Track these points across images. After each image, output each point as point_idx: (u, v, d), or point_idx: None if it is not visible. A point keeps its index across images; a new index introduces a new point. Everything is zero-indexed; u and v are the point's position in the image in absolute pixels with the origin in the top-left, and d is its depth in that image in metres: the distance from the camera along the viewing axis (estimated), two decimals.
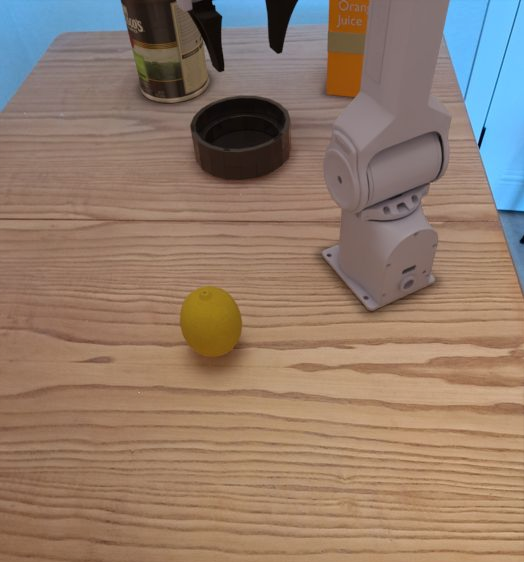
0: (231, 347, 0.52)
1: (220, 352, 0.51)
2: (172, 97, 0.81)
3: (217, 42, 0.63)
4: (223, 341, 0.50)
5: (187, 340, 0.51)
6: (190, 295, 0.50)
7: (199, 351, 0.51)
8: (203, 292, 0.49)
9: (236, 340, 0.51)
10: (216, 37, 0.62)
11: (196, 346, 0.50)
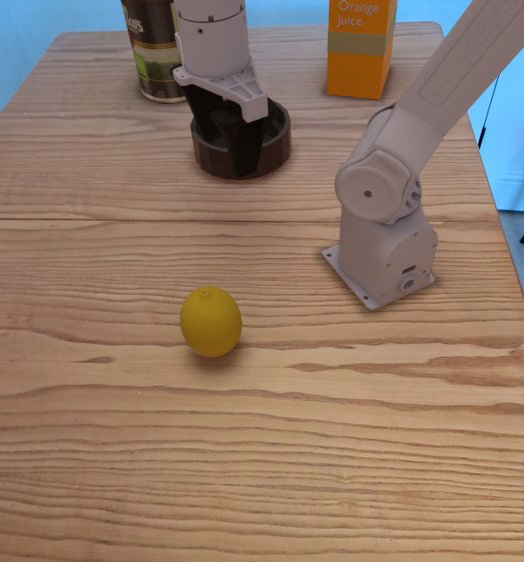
0: (231, 347, 0.52)
1: (220, 352, 0.51)
2: (172, 97, 0.81)
3: None
4: (223, 341, 0.50)
5: (187, 340, 0.51)
6: (190, 295, 0.50)
7: (199, 351, 0.51)
8: (203, 292, 0.49)
9: (236, 340, 0.51)
10: None
11: (196, 346, 0.50)
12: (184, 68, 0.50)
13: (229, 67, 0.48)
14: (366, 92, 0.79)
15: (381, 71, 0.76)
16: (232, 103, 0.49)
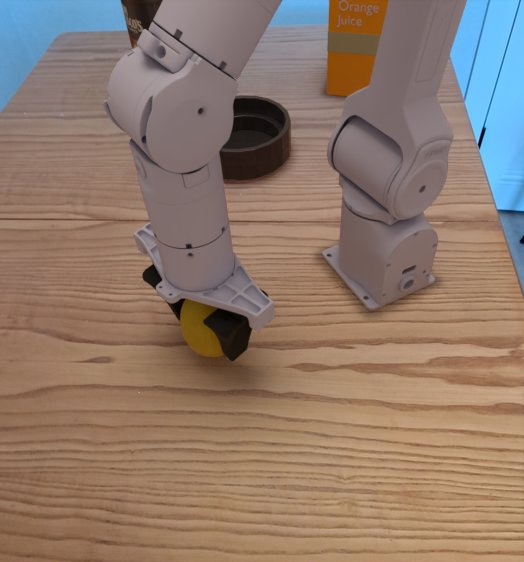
0: None
1: (220, 352, 0.51)
2: None
3: None
4: None
5: (187, 340, 0.51)
6: None
7: (199, 351, 0.51)
8: None
9: None
10: None
11: (197, 346, 0.50)
12: (167, 282, 0.45)
13: (221, 276, 0.44)
14: None
15: None
16: None
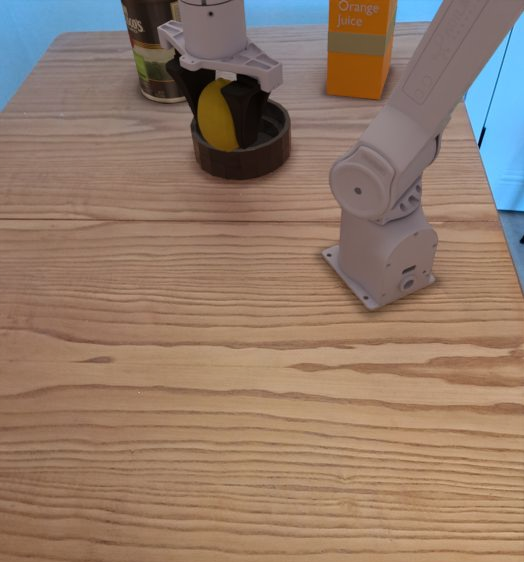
0: None
1: (233, 141, 0.58)
2: (172, 97, 0.81)
3: None
4: None
5: (204, 129, 0.58)
6: (207, 85, 0.56)
7: (214, 140, 0.58)
8: (218, 78, 0.55)
9: None
10: None
11: (212, 132, 0.57)
12: (189, 55, 0.52)
13: (236, 45, 0.51)
14: (366, 92, 0.79)
15: (381, 71, 0.76)
16: (238, 77, 0.52)
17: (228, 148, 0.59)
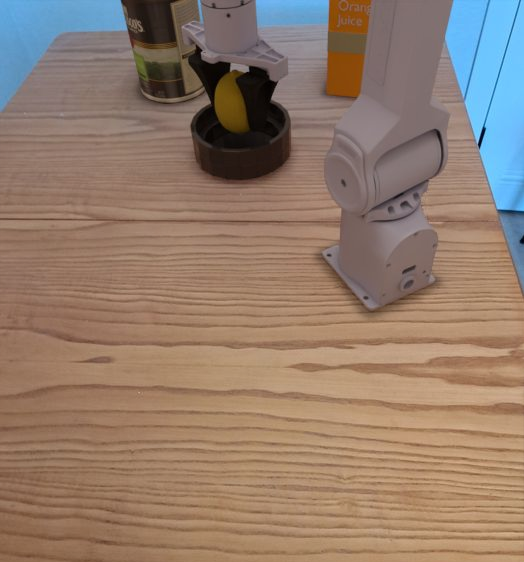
0: None
1: (244, 124, 0.67)
2: (172, 97, 0.81)
3: None
4: None
5: (220, 114, 0.67)
6: (223, 76, 0.66)
7: (229, 123, 0.67)
8: (233, 70, 0.65)
9: None
10: None
11: (227, 116, 0.67)
12: (209, 50, 0.61)
13: (249, 42, 0.61)
14: None
15: None
16: (250, 68, 0.62)
17: (240, 131, 0.69)
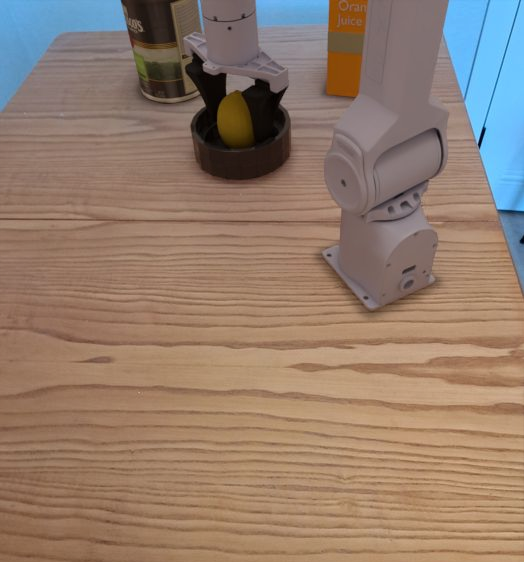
0: (254, 140, 0.70)
1: (246, 142, 0.69)
2: (172, 97, 0.81)
3: None
4: (249, 131, 0.68)
5: (222, 132, 0.69)
6: (225, 96, 0.68)
7: (231, 141, 0.69)
8: (235, 91, 0.67)
9: None
10: None
11: (230, 135, 0.69)
12: (211, 61, 0.62)
13: (250, 54, 0.61)
14: None
15: None
16: (256, 82, 0.62)
17: (242, 148, 0.70)
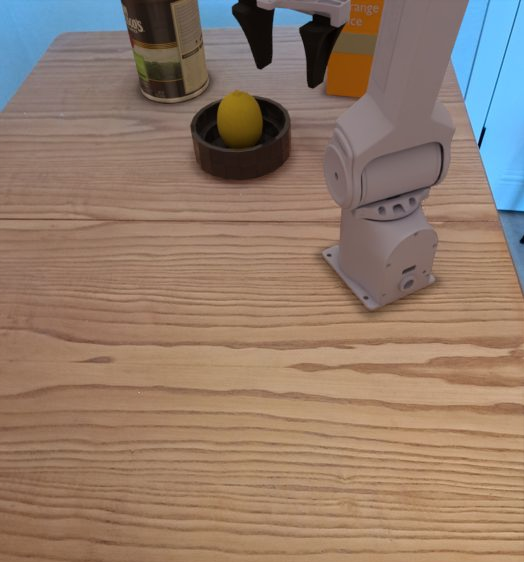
0: (254, 140, 0.70)
1: (246, 142, 0.69)
2: (172, 97, 0.81)
3: None
4: (249, 131, 0.68)
5: (222, 132, 0.69)
6: (225, 96, 0.68)
7: (231, 141, 0.69)
8: (235, 91, 0.67)
9: (258, 134, 0.70)
10: None
11: (230, 135, 0.69)
12: None
13: None
14: None
15: None
16: (314, 17, 0.58)
17: (242, 148, 0.70)
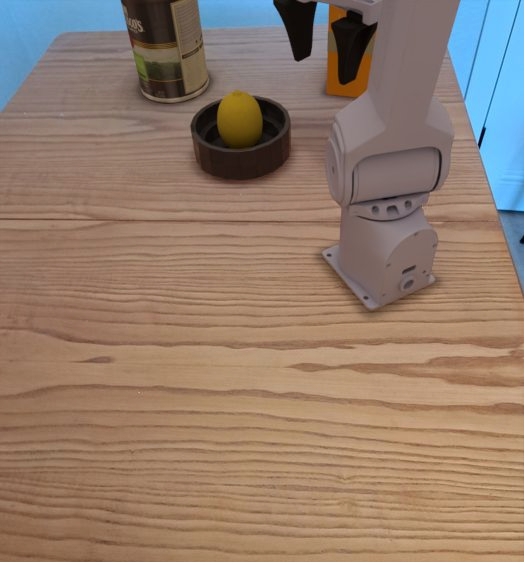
0: (254, 140, 0.70)
1: (246, 142, 0.69)
2: (172, 97, 0.81)
3: None
4: (249, 131, 0.68)
5: (222, 132, 0.69)
6: (225, 96, 0.68)
7: (231, 141, 0.69)
8: (235, 91, 0.67)
9: (258, 134, 0.70)
10: None
11: (230, 135, 0.69)
12: None
13: None
14: None
15: None
16: (348, 13, 0.58)
17: (242, 148, 0.70)
